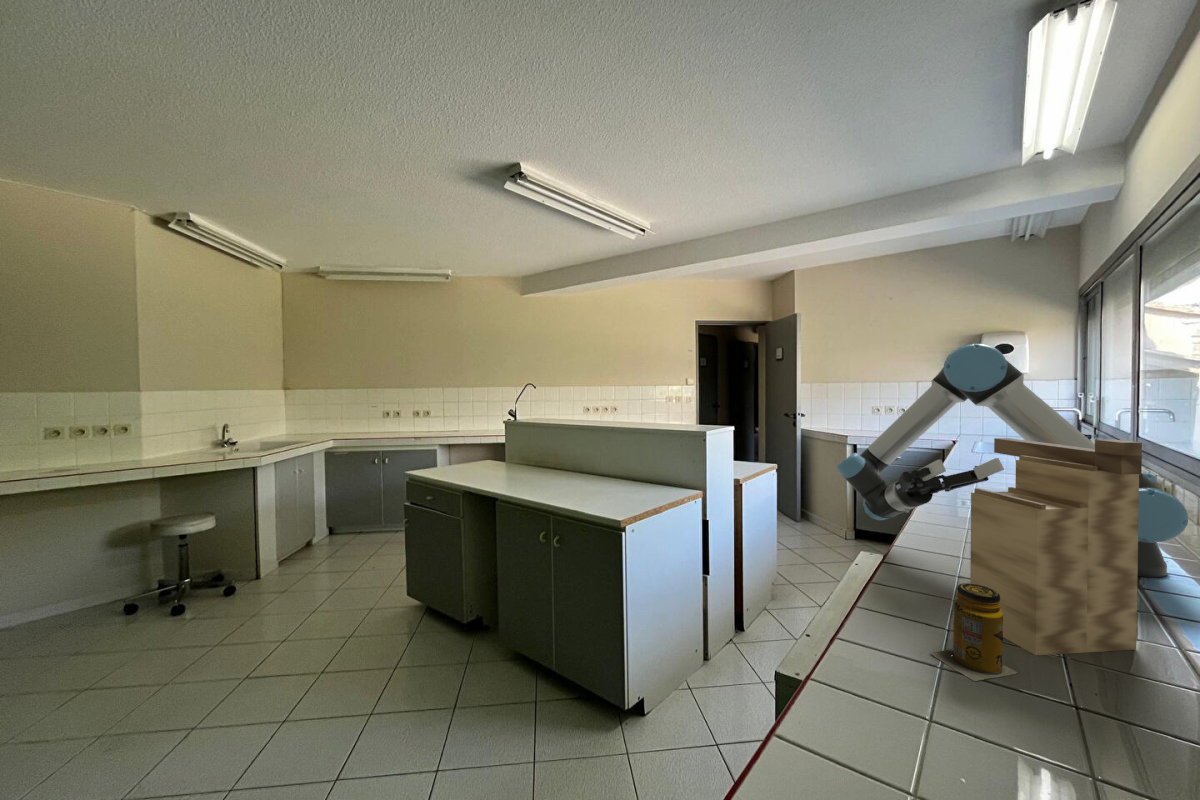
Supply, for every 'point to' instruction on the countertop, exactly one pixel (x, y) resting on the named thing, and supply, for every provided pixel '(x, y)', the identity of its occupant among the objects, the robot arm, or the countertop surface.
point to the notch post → (1060, 556)
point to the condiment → (976, 634)
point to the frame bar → (1080, 453)
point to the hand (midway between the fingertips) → (971, 464)
